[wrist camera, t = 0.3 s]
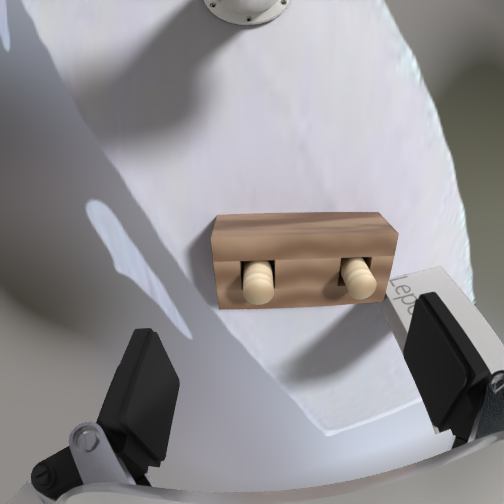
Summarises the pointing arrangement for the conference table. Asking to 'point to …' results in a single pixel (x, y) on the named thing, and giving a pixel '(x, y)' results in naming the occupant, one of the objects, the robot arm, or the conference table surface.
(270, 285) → the peg
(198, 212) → the conference table surface
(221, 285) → the walnut block
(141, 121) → the conference table surface
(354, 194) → the conference table surface
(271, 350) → the conference table surface
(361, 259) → the peg
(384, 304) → the brochure
